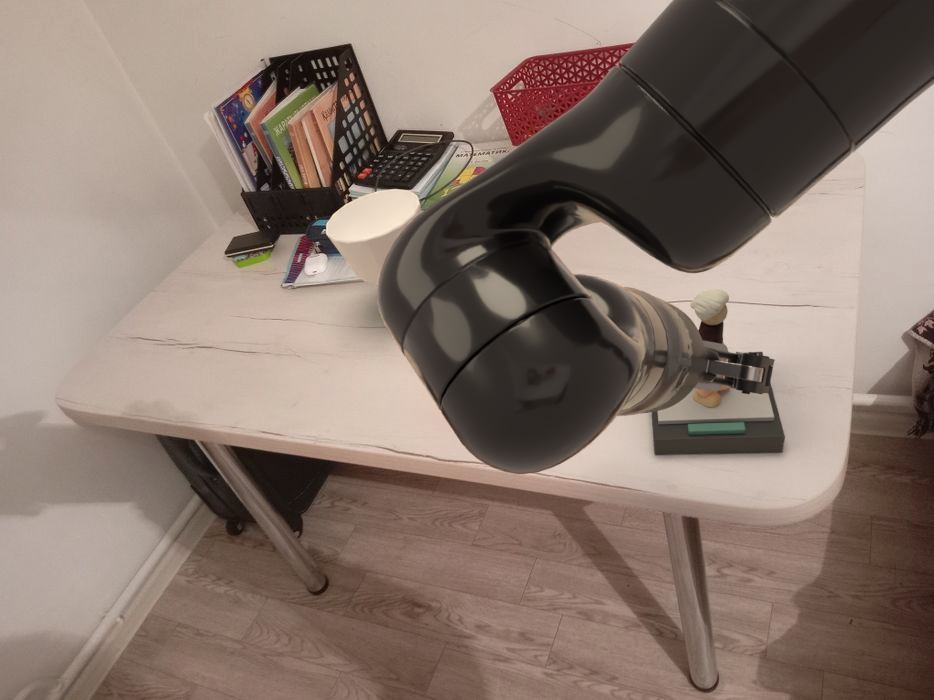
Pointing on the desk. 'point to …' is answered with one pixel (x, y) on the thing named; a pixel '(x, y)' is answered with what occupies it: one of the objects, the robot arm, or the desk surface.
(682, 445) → the kitchen scale
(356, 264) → the cup
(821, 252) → the desk surface
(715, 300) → the grandmother figurine
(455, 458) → the desk surface
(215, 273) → the desk surface
